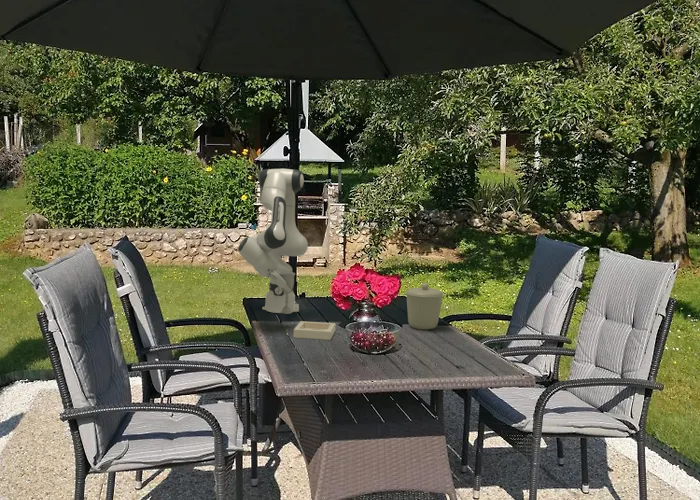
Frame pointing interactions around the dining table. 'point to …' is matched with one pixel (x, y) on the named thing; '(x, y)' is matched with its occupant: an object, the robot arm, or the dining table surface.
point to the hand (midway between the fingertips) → (288, 289)
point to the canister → (423, 307)
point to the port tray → (314, 330)
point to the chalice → (290, 283)
